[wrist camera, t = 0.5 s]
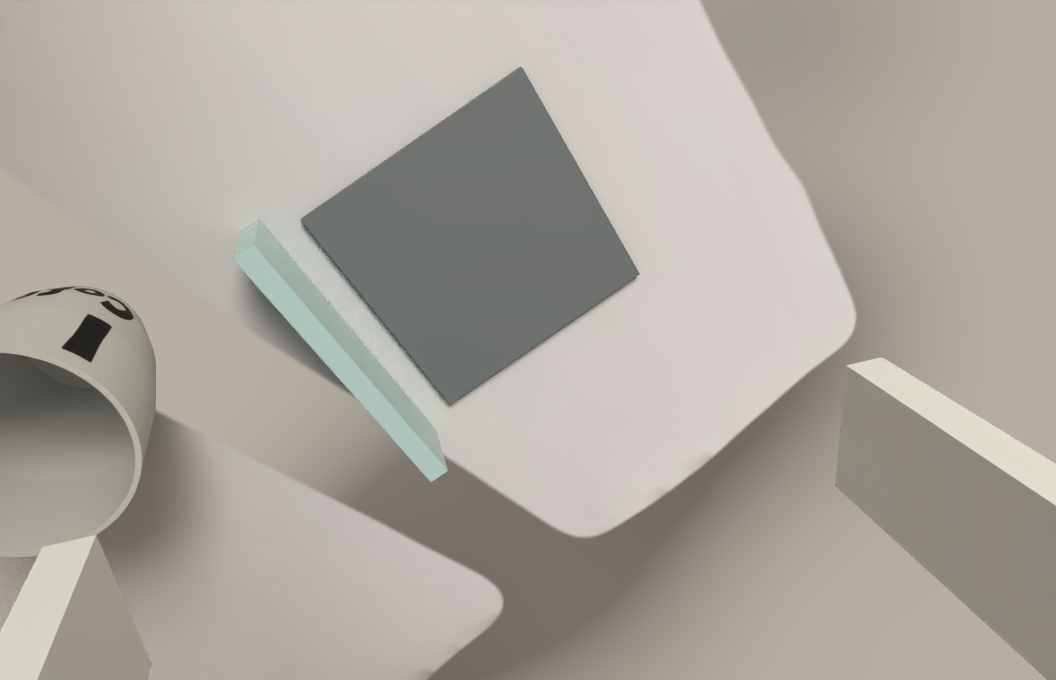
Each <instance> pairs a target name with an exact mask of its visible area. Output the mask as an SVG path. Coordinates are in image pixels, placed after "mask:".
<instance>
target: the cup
mask: <svg viewBox="0 0 1056 680" xmlns="http://www.w3.org/2000/svg"><path fill="white" fill-rule="evenodd" d="M155 382H156V364H155V356H154V351H153V348H152V345H151V343H150V340H149V338H148V335H147V333H146V330H145V328H144V325H143V323H142V321H141V319H140V318H139V316H138V315H137V314H136V312H135V311H134V310H133V309H132V308H131V307H130V306H129V305H128V304H127V303H126V302H124V301H123V300H121V299H120V298H118V297H116V296H115V295H113V294H111V293H108V292H106V291H103V290H100V289H96V288H92V287H84V286H71V287H63V288H56V289H48V290H41V291H36V292H32V293H29V294H25V295H22V296H20V297H18V298H16V299H13V300H11V301H9V302H7V303H5V304H3V305H1V306H0V557H30V556H38V555H39V553H40V551H41V549H42V547H45V546H49V545H54V544H58V543H63V542H67V541H72V540H76V539H80V538H85V537H89V536H94V535H97V534H98V533H100V532H101V531H103V530H104V529H106V528H107V527H108V526H109V525H111V524H112V523H113V522H114V521H115V520H116V519H117V518H118V517H119V516H120V515H121V514H122V512H123V511H124V510H125V509H126V507H127V506H128V504H129V503H130V501H131V499H132V497H133V496H134V493H135V491H136V489H137V486H138V483H139V479H140V475H141V471H142V467H143V463H144V459H145V454H146V450H147V446H148V442H149V438H150V433H151V429H152V425H153V421H154V416H155V397H156V395H155V394H156V390H155V389H156V388H155V387H156V385H155Z"/></svg>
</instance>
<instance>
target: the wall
mask: <svg viewBox="0 0 1056 680" xmlns="http://www.w3.org/2000/svg"><path fill="white" fill-rule="evenodd" d="M233 260H234V261H235V262H236V263H237V264H238V266H239V267H240V268H241V269H242V270H243V271H244V272H245V273H246V275H247V276H248V277H249V278H250V279H251V280H252V281H253V283H254V284H255V285H256V286H257V287H258V288H259V289H260V290H261V292H262V293H263V294H264V295H265V296H266V297H267V298H268V299H269V301H270V302H271V303H272V304H273V305H274V306H275V307H276V308H277V310H278V311H279V312H280V313H281V314H282V315H283V316H284V317H285V319H286V320H287V321H288V322H289V323H290V324H291V325H292V326H293V328H294V329H295V330H296V331H297V332H298V333H299V334H300V335H301V337H302V338H303V339H304V340H305V341H306V342H307V343H308V344H309V346H310V347H311V348H312V349H313V350H314V351H315V352H316V353H317V355H318V356H319V357H320V358H321V359H322V360H323V361H324V362H325V364H326V365H327V366H328V367H329V368H330V369H331V370H332V372H333V373H334V374H335V375H336V376H337V377H338V378H339V379H340V381H341V382H342V383H343V384H344V385H345V386H346V387H347V388H348V390H349V391H350V392H351V393H352V394H353V395H354V396H355V397H356V399H357V400H358V401H359V402H360V403H361V404H362V405H363V406H364V408H365V409H366V410H367V411H368V412H369V413H370V414H371V415H372V417H373V418H374V419H375V420H376V421H377V422H378V423H379V424H380V425H381V427H382V428H383V429H384V430H385V431H386V432H387V433H388V434H389V436H390V437H391V438H392V439H393V440H394V441H395V442H396V444H397V445H398V446H399V447H400V448H401V449H402V450H403V451H404V452H405V454H406V455H407V456H408V457H409V458H410V459H411V460H412V462H413V463H414V464H415V465H416V466H417V467H418V468H419V470H420V471H421V472H422V473H423V474H424V475H425V476H426V477H427V479H428V480H430V482H432V481H433V480H435V479H437V478H438V477H439V476H441V475H443V474H444V473H445V472H447V471H448V470H447V466H446V463H445V459H444V456H443V453H442V449H441V446H440V442H439V439H438V436H437V432H436V430H435V428H434V427H433V426H432V425H431V424H430V422H429V421H428V420H427V419H426V418H425V416H424V415H423V414H422V413H421V412H420V411H419V409H418V408H417V407H416V406H415V405H414V403H413V402H412V401H411V400H410V399H409V397H408V396H407V395H406V394H405V393H404V391H403V390H402V389H401V388H400V387H399V386H398V384H397V383H396V382H395V381H394V380H393V378H392V377H391V376H390V375H389V374H388V372H387V371H386V370H385V369H384V368H383V366H382V365H381V364H380V363H379V362H378V361H377V359H376V358H375V357H374V356H373V355H372V353H371V352H370V351H369V350H368V349H367V347H366V346H365V345H364V344H363V343H362V342H361V340H360V339H359V338H358V337H357V336H356V334H355V333H354V332H353V331H352V330H351V328H350V327H349V326H348V325H347V324H346V322H345V321H344V320H343V319H342V318H341V317H340V315H339V314H338V313H337V312H336V311H335V309H334V308H333V307H332V306H331V305H330V303H329V302H328V301H327V300H326V299H325V297H324V296H323V295H322V294H321V293H320V292H319V290H318V289H317V288H316V287H315V286H314V284H313V283H312V282H311V281H310V280H309V278H308V277H307V276H306V275H305V274H304V272H303V271H302V270H301V269H300V268H299V267H298V265H297V264H296V263H295V262H294V261H293V259H292V258H291V257H290V256H289V255H288V253H287V252H286V251H285V250H284V249H283V247H282V246H281V245H280V244H279V243H278V242H277V240H276V239H275V238H274V237H273V236H272V234H271V233H270V232H269V231H268V230H267V228H266V227H265V226H264V225H263V224H262V222H261V221H260V220H258V221H257V222H255V223H254V224H253V225H251V226H250V227H248V228H247V229H245V230H244V231H242V232H241V234H240V237H239V241H238V244H237V247H236V250H235V254H234V257H233Z"/></svg>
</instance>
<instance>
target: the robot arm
mask: <svg viewBox="0 0 1056 680" xmlns="http://www.w3.org/2000/svg"><path fill="white" fill-rule="evenodd" d="M835 486H836V487H837V488H838V489H839V490H840V491H841V492H843V493H844V494H845V495H846V496H847V497H848V498H849V499H850V500H851V501H853V503H855V504H856V505H857V506H858V507H859V508H860V509H861V510H862V511H863V512H864V513H866V514H867V515H868V516H869V517H870V518H871V519H872V520H873V521H874V522H875V523H877V524H878V525H879V526H880V527H881V528H882V529H883V530H884V531H885V532H886V533H887V534H889V535H890V536H891V537H892V538H893V539H894V540H895V541H896V542H897V543H899V545H901V546H902V547H903V548H904V549H905V550H906V551H907V552H908V553H909V554H910V555H911V556H913V557H914V558H915V559H916V560H917V561H918V562H919V563H920V564H921V565H922V566H923V567H925V568H926V569H927V570H928V571H929V572H930V573H931V574H933V576H935V577H936V578H937V579H938V580H939V581H940V582H941V583H942V584H943V585H944V586H945V587H946V588H948V589H949V590H950V591H951V592H952V593H953V594H954V595H955V596H956V597H958V598H959V599H960V600H961V601H962V602H963V603H964V604H965V605H966V606H967V607H968V608H969V609H971V610H972V611H973V612H974V613H975V614H976V615H977V616H978V617H979V618H980V619H981V620H983V621H984V622H985V623H986V624H987V625H988V626H989V627H990V628H991V629H992V630H994V631H995V632H996V633H997V634H998V635H999V636H1000V637H1001V638H1002V639H1003V640H1004V641H1006V642H1007V643H1008V644H1009V645H1010V646H1011V647H1012V648H1013V649H1014V650H1016V651H1017V652H1018V653H1019V654H1020V655H1021V656H1022V657H1023V658H1024V659H1025V660H1026V661H1028V662H1029V663H1030V664H1031V665H1032V666H1033V667H1034V668H1035V669H1036V670H1037V671H1038V672H1039V673H1041V674H1042V675H1043V676H1044V677H1045V678H1046V679H1047V680H1056V464H1055V463H1053V462H1052V461H1050V460H1048V459H1047V458H1045V457H1044V456H1042V455H1040V454H1039V453H1037V452H1035V451H1034V450H1032V449H1030V448H1029V447H1027V446H1026V445H1024V444H1022V443H1021V442H1019V441H1017V440H1016V439H1014V438H1012V437H1011V436H1009V435H1008V434H1006V433H1004V432H1003V431H1001V430H1000V429H998V428H996V427H994V426H993V425H991V424H990V423H988V422H987V421H985V420H983V419H981V418H980V417H978V416H977V415H975V414H973V413H972V412H970V411H969V410H967V409H965V408H964V407H962V406H960V405H959V404H957V403H956V402H954V401H952V400H951V399H949V398H947V397H946V396H944V395H943V394H941V393H939V392H938V391H936V390H934V389H933V388H931V387H929V386H928V385H926V384H925V383H923V382H921V381H920V380H918V379H916V378H915V377H913V376H912V375H910V374H908V373H907V372H905V371H903V370H902V369H900V368H898V367H897V366H895V365H893V364H892V363H890V362H889V361H887V360H885V359H884V358H878V359H873V360H868V361H864V362H860V363H855V364H851V365H847V366H846V375H845V386H844V396H843V407H842V418H841V429H840V440H839V450H838V461H837V472H836V483H835ZM150 667H151V661H150V659H149V657H148V654H147V652H146V650H145V647H144V645H143V643H142V640H141V638H140V636H139V633H138V631H137V629H136V626H135V624H134V622H133V619H132V617H131V615H130V612H129V610H128V608H127V605H126V603H125V601H124V598H123V596H122V594H121V591H120V589H119V587H118V584H117V582H116V580H115V577H114V575H113V573H112V570H111V568H110V566H109V563H108V561H107V559H106V556H105V554H104V552H103V549H102V547H101V545H100V542H99V540H98V538H97V535H94V536H89V537H85V538H80V539H76V540H72V541H67V542H63V543H58V544H54V545H49V546H45V547H42V549H41V551H40V553H39V555H38V557H37V559H36V561H35V563H34V565H33V567H32V569H31V571H30V573H29V575H28V577H27V579H26V581H25V583H24V585H23V587H22V589H21V591H20V593H19V595H18V597H17V599H16V601H15V603H14V605H13V607H12V609H11V611H10V613H9V615H8V617H7V619H6V621H5V623H4V625H3V627H2V629H1V631H0V680H147V679H148V675H149V671H150Z"/></svg>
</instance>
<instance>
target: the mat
mask: <svg viewBox="0 0 1056 680" xmlns="http://www.w3.org/2000/svg"><path fill="white" fill-rule="evenodd" d="M301 221H302V222H303V224H304V225H305V226H306V227H307V229H308V230H309V231H310V232H311V234H312V235H313V236H314V237H315V239H316V240H317V241H318V242H319V244H320V245H321V246H322V247H323V248H324V250H325V251H326V252H327V253H328V255H329V256H330V257H331V258H332V260H333V261H334V262H335V263H336V265H337V266H338V267H339V268H340V269H341V271H342V272H343V273H344V274H345V276H346V277H347V278H348V279H349V281H350V282H351V283H352V284H353V286H354V287H355V288H356V289H357V291H358V292H359V293H360V294H361V295H362V297H363V298H364V299H365V300H366V302H367V303H368V304H369V305H370V307H371V308H372V309H373V310H374V312H375V313H376V314H377V315H378V316H379V318H380V319H381V320H382V321H383V323H384V324H385V325H386V326H387V328H388V329H389V330H390V331H391V333H392V334H393V335H394V336H395V338H396V339H397V340H398V341H399V342H400V344H401V345H402V346H403V347H404V349H405V350H406V351H407V352H408V354H409V355H410V356H411V357H412V359H413V360H414V361H415V362H416V363H417V365H418V366H419V367H420V368H421V370H422V371H423V372H424V373H425V375H426V376H427V377H428V378H429V380H430V381H431V382H432V383H433V385H434V386H435V387H436V388H437V389H438V391H439V392H440V393H441V394H442V396H443V397H444V398H445V399H446V401H447V402H448V403H449V404H451V403H453V402H454V401H456V400H457V399H459V398H460V397H462V396H463V395H465V394H466V393H468V392H469V391H470V390H472V389H473V388H475V387H476V386H478V385H479V384H481V383H482V382H484V381H485V380H486V379H488V378H489V377H491V376H492V375H494V374H495V373H497V372H498V371H500V370H501V369H502V368H504V367H505V366H507V365H508V364H510V363H511V362H513V361H514V360H516V359H517V358H518V357H520V356H521V355H523V354H524V353H526V352H527V351H529V350H530V349H532V348H533V347H535V346H536V345H537V344H539V343H540V342H542V341H543V340H545V339H546V338H548V337H549V336H551V335H552V334H553V333H555V332H556V331H558V330H559V329H561V328H562V327H564V326H565V325H567V324H568V323H569V322H571V321H572V320H574V319H575V318H577V317H578V316H580V315H581V314H583V313H584V312H585V311H587V310H588V309H590V308H591V307H593V306H594V305H596V304H597V303H599V302H600V301H602V300H603V299H604V298H606V297H607V296H609V295H610V294H612V293H613V292H615V291H616V290H618V289H619V288H620V287H622V286H623V285H625V284H626V283H628V282H629V281H631V280H632V279H634V278H635V277H636V276H638V275H639V272H638V270H637V268H636V267H635V265H634V263H633V261H632V260H631V258H630V256H629V254H628V253H627V251H626V249H625V247H624V246H623V244H622V242H621V240H620V239H619V237H618V235H617V233H616V232H615V230H614V228H613V226H612V224H611V223H610V221H609V219H608V217H607V216H606V214H605V212H604V210H603V209H602V207H601V205H600V203H599V202H598V200H597V198H596V196H595V195H594V193H593V191H592V189H591V188H590V186H589V184H588V182H587V181H586V179H585V177H584V175H583V174H582V172H581V170H580V168H579V167H578V165H577V163H576V161H575V160H574V158H573V156H572V154H571V153H570V151H569V149H568V147H567V146H566V144H565V142H564V140H563V138H562V137H561V135H560V133H559V131H558V130H557V128H556V126H555V124H554V123H553V121H552V119H551V117H550V116H549V114H548V112H547V110H546V109H545V107H544V105H543V103H542V102H541V100H540V98H539V96H538V95H537V93H536V91H535V89H534V88H533V86H532V84H531V82H530V81H529V79H528V77H527V75H526V74H525V72H524V70H523V68H521V67H520V68H518V69H517V70H515V71H514V72H512V73H511V74H509V75H508V76H507V77H505V78H504V79H502V80H501V81H499V82H498V83H496V84H495V85H494V86H492V87H491V88H489V89H488V90H486V91H485V92H483V93H482V94H481V95H479V96H478V97H476V98H475V99H473V100H472V101H470V102H469V103H468V104H466V105H465V106H463V107H462V108H460V109H459V110H457V111H456V112H455V113H453V114H452V115H450V116H449V117H447V118H446V119H445V120H443V121H442V122H440V123H439V124H437V125H436V126H434V127H433V128H432V129H430V130H429V131H427V132H426V133H424V134H423V135H421V136H420V137H419V138H417V139H416V140H414V141H413V142H411V143H410V144H408V145H407V146H406V147H404V148H403V149H401V150H400V151H398V152H397V153H395V154H394V155H393V156H391V157H390V158H388V159H387V160H385V161H384V162H382V163H381V164H380V165H378V166H377V167H375V168H374V169H372V170H371V171H369V172H368V173H367V174H365V175H364V176H362V177H361V178H359V179H358V180H356V181H355V182H354V183H352V184H351V185H349V186H348V187H346V188H345V189H343V190H342V191H341V192H339V193H338V194H336V195H335V196H333V197H332V198H330V199H329V200H328V201H326V202H325V203H323V204H322V205H320V206H319V207H317V208H316V209H315V210H313V211H312V212H310V213H309V214H307V215H306V216H304V217H303V218H302V219H301Z"/></svg>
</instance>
